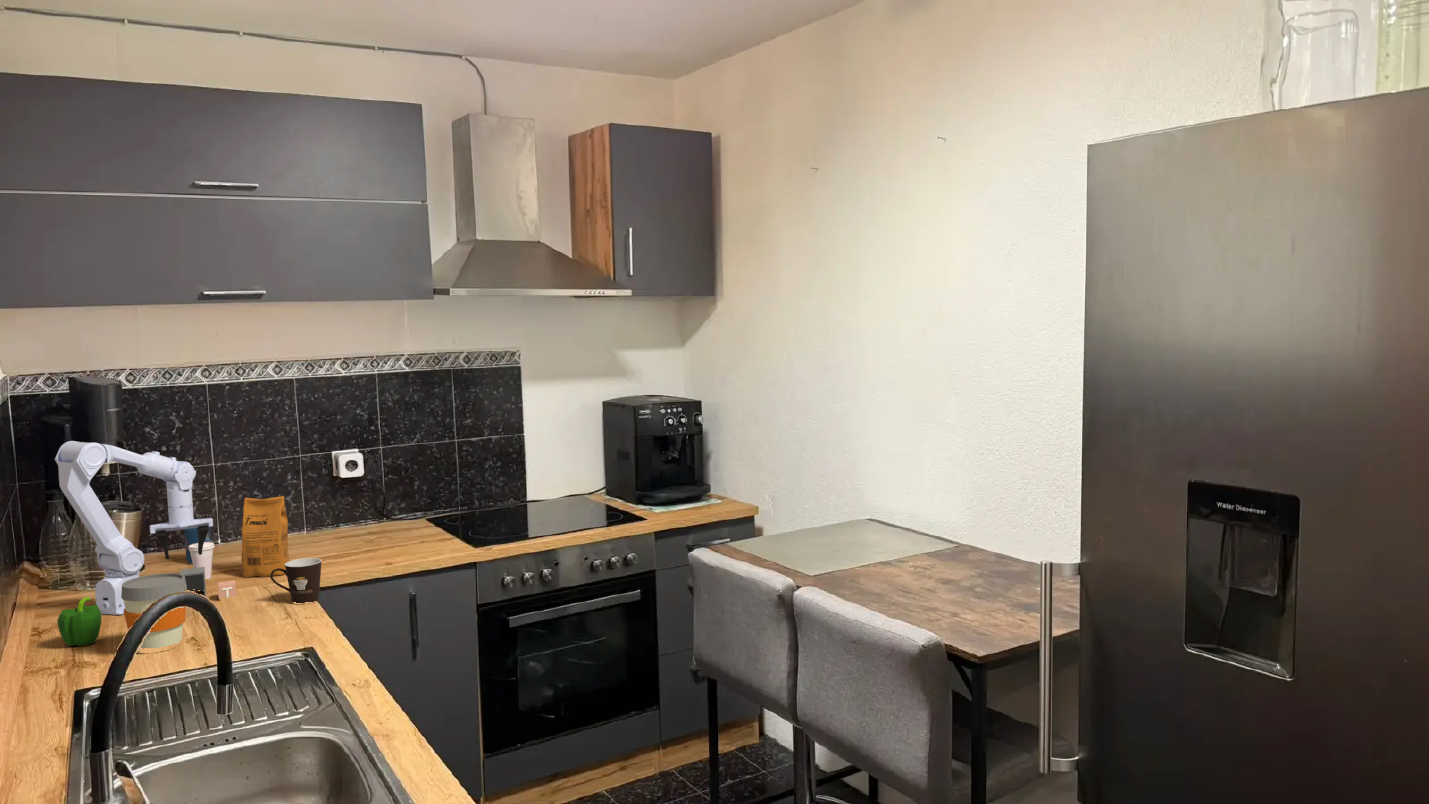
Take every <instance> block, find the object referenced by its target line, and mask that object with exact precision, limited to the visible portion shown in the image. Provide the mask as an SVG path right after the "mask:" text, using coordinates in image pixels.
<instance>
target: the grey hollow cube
mask: <svg viewBox="0 0 1429 804" xmlns="http://www.w3.org/2000/svg"><path fill="white" fill-rule="evenodd" d="M179 570H180V571H179V574H182V575H184V576H185V580H186V586H187V590H190V591H195V592H194V593H200V592H199V591H198V590H200V591H202V592H204V597H206V596H207V585H206V584H207V583H206V582H207V581H206V580H205V567H199V568H194V567H192V568H191V567H190V568H183V569H179ZM193 589H195V590H193ZM203 590H204V591H203Z"/></svg>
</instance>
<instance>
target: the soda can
mask: <svg viewBox="0 0 1429 804" xmlns="http://www.w3.org/2000/svg"><path fill="white" fill-rule="evenodd" d="M187 527H188V526H187ZM208 528H209V531H208V534H207V536H206V538H205V541H204V542H211V543H212V530H211V526H210V527H209V526H208ZM183 531H184V532H183V535H184V547H185V548H184V550H185V560H186V562H187V563H188V564H189V565H193V563H192V558H191V553H190V551H189V550H188V549H189V546H190V545H192V544H196V543H198V534H197V528H190V529H183Z"/></svg>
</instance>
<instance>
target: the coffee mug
mask: <svg viewBox="0 0 1429 804" xmlns="http://www.w3.org/2000/svg"><path fill="white" fill-rule="evenodd" d="M285 568H286V570H284V569H281V568H278V569H275V570H273V571H272V572H271V575H270V580H271V581H272V582H273V583H274V584H275V585H276V586H278V587H279V588H281V589H284V590H286V591H288V592H289V594H290V599H291V603H292V602H296V603H305V602H313V603H315V602H314V601H316V602H317V601H319V600H320V591H321V589H320V588H321V574H322V559H320V558H316V557H307V558H304V557H303V558H297V559H293V560H290V561H289V562H287V563H285ZM276 571H282V572H284V575H285V576H286V578H287V584H288V587H287V586H284V585H283V584H281V583H279V582H278V581H276V579H275V578H274V576H273V573H274V572H276Z"/></svg>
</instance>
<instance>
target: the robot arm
mask: <svg viewBox="0 0 1429 804" xmlns="http://www.w3.org/2000/svg"><path fill="white" fill-rule="evenodd" d="M160 454H161V453H160V452H158V451H154V450H152V451H151V452H145V453H143V454H140V453H139V454H138V453H136V452H133V451H130V450H127V449H123V448H121V447H119V446H115V445H112V444H104V443H98V442H85V441H84V442H83V441H81V442H80V441H75V440H70V441H66V442H64V443H63V444H62V445H61V446H60V447H59V449H58V451H57V454H56V455H55V458H54V461H55V462H56V464H57V466H58V468H57V469H58V482H59V488H60V489H61V491H62V493H63V494H64V496H65V497H66V499H67V500H68V502H69V504H70V506H71V507H72V508H73V510H74V511H75V513H76V515H78V517H79V519H80V521H81V522H82V523H83V524H84V526H85V528H86V530H87V531H88V533H89V534H90V536H91V537H92V539H93V540H94V542H95V544H96V547H95V548H94V552H95V553H96V555H97V563H98V566H99V567H100V568H101V569H102V570H104V571H103V572H104V578H103V579H101V580H99V581H98V582H97V583H96V585H95V587H94V593H95V594H94V596H95V605H97V606H98V608H99V609H100V611H101V615H119V616H120V615H124V609H125V605H124V601H123V599H122V598H121V592H122V584H123V583H124V582H125V581H128V580H130V579H133V578H137V577H140V572H141V569H142V568H143V565H144V563H145V555H144V553H143V552H142V550H140V549H138V548H136V547H135V546H134V545H133V543H132V542H131V541H130V540H128V539H127V538H126V537H124V536H123V535H122V534H121V533H120V531H119V530H118V528H117V526H116V525H115V523H114V522H113V520H112V518H111V517H110V515H109V514H108V512H107V511H106V509H105V507H104V506H103V504H102V503H101V501H100V500H99V498H98V496H97V495H96V493H95V492H94V490H93V488H92V487H91V485H90V483H91V480H92V478H93V477H94V476H95V475H96V474H97V472H98V471H99V470H100V468H102V466H103V465H104V464H109V463H111V462H115V463H118V464H122V465H127V466H132V467H134V468H135V467H136V469H137V471H138V473H140V474H141V475H145V476H149V477H153V478H157V479H161V480H163V481H164V482H165V483H166V494H167V495H166V496H167V498H166V499H167V512H168V522H162V523H157V524H151V525H149V533H150V534H151V535H152V534H154V535H155V537H156V539H157V540H158V542H159V543H160V545H161V547H162V549H163V552H164V556H165V560H169V559H170V555H169V548H168V547H169V546H168V535H167V532H172V531H180V530H181V531H182V530H184V529H190V528H197V534H198V554H199V555H202V549H203V544H204V541H205V538H206V536H207V534H208V531H209V528H208V526H209V527H210V528H211V527H214V519H213V518H212V517H209V518H197V519H195V517H194V503H193V491H192V487H193V481H194V479H195V477H196V475H197V471H196V470H195V469H194V467H193V465H191V462H188V461H180V460H177V458H176V457H173V456H169V457H167V456H164V455H160ZM187 526H188V527H187Z"/></svg>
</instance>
